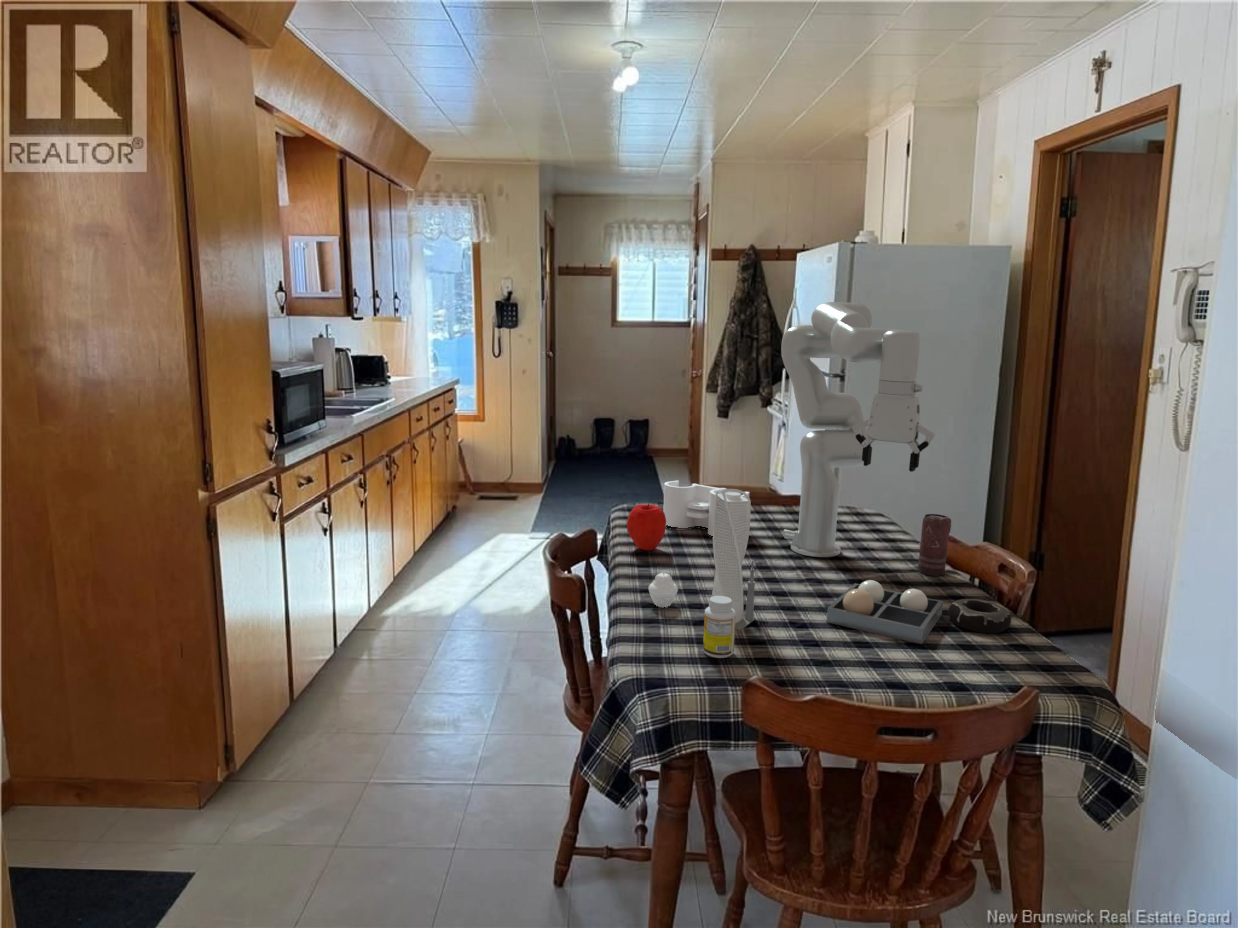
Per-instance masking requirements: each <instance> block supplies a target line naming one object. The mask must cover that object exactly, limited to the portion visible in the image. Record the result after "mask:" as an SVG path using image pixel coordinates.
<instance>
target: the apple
mask: <svg viewBox="0 0 1238 928" xmlns="http://www.w3.org/2000/svg"><path fill="white" fill-rule="evenodd" d="M666 528H667V527H666V517H665V514H664V512H663V508H661V507H660V506H658V505H655V504H650V503H647V504H644V503H643V504H636V506H634V507H633V508H632V509H631V511H630V512H629V515H628V517H627V520H626V529H627V532H628V535H629V538H631V540H632V541H633V543H634V545H635V546H636V547H637V548H638V549H641V550H643V551H654V550H655V549H657V548H658V546H659V545H660V543H661V542H662V540H663V538H664V535H665V532H666Z"/></svg>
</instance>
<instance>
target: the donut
mask: <svg viewBox="0 0 1238 928" xmlns="http://www.w3.org/2000/svg"><path fill="white" fill-rule="evenodd" d="M947 614H948V617H949V619H950V620H951V622H952V623H954V624H955V625H956V626H958V627H960V628H962V629H965V630H968V631H971V632H974V633H975V632H976V633H981V634H997V633H1001V632H1004V631H1005V630H1007V629H1008V628H1009V627H1010V626H1011V624H1012V616H1011V614H1010V612H1009V611H1008V610H1007V609H1006V608H1005V607H1003V606H1002V605H999V604H998V603H995V602H991V601H990V600H984V599H977V598H961V599H957V600H955V601H953V602H952V603H951V604H950V605H949V607H948V610H947Z"/></svg>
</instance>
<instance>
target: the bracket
mask: <svg viewBox="0 0 1238 928" xmlns="http://www.w3.org/2000/svg"><path fill="white" fill-rule="evenodd" d="M663 485H664V489H663V508H662V510H663V512H664V514H665V517H666V525H668V526H671V527H678V528H688V527H692V526H693V525H696V526H702V527H706V528H708V529H707V535H708V534H709V535H711V536H713V517H714V506H715V496H716V493H717V492H719V491H723V490H725V489H727V488H726V487H715V486H709V485H702V484H699V483H691V485H690V486H680V480H671V481H665V482H664V483H663ZM744 492H745V493H746V494H747V495H748V497H749V498H750V491H744ZM718 495H723V494H722V493H721V494H718ZM725 495H726V493H725ZM741 496H743V497H744V498H746V497H745V495H743V494H741ZM746 499H747V498H746ZM693 527H694V526H693ZM693 527H692V528H693ZM709 535H708V536H709ZM711 536H710V537H711Z"/></svg>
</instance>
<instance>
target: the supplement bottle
mask: <svg viewBox="0 0 1238 928" xmlns="http://www.w3.org/2000/svg"><path fill="white" fill-rule="evenodd" d="M735 618H736V613H735V610H734V609H732V600H731V599H730V598H728V597H725V596H713V597H712V596H711V597H710V598H709V603H708V607H706V608H705V610H704V622H703V639H702V640H703V643H702V646H703V647H702V650H703V652H704V654H705V655H706V656H708V657H711V658H716V659H724V658H729V657H731V656H732V655H734V650H735V635H736V634H735V632H736V629H735Z"/></svg>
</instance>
